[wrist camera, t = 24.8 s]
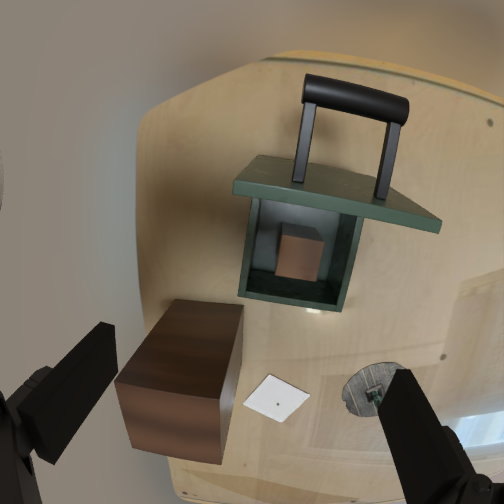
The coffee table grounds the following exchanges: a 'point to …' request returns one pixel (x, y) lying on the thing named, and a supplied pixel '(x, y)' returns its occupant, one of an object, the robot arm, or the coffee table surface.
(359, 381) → the sculpture
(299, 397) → the coaster
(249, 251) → the green box
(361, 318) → the coffee table surface
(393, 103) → the box lid
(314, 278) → the block
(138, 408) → the plinth
